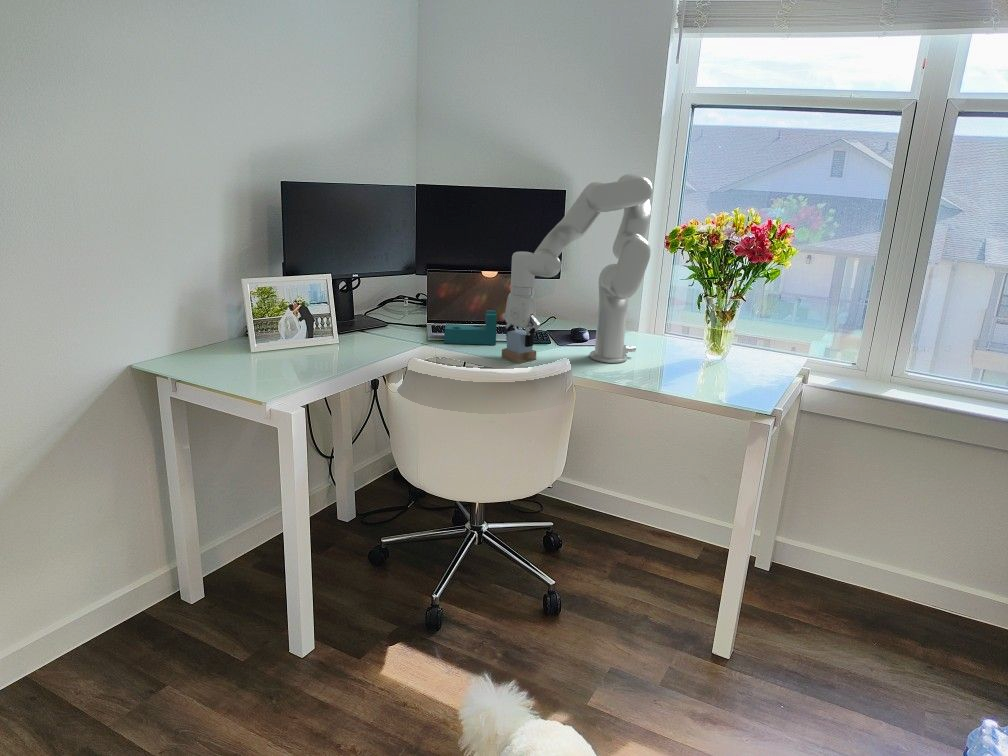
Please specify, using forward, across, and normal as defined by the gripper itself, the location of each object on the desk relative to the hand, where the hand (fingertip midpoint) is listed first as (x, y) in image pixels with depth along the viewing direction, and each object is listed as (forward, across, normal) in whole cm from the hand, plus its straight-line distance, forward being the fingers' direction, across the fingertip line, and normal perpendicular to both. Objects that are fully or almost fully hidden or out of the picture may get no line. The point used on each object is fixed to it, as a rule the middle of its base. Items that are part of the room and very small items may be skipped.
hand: (519, 343), depth 240 cm
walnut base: (+5, 0, 0) cm, 5 cm away
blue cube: (+2, 0, 0) cm, 2 cm away
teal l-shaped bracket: (+6, -26, +1) cm, 27 cm away
